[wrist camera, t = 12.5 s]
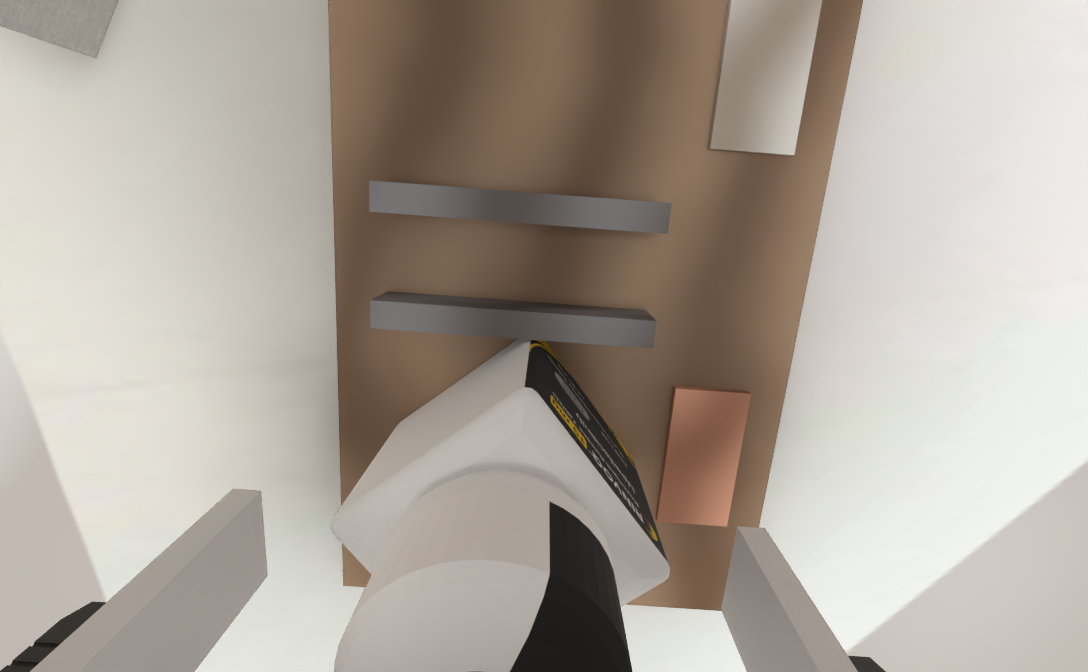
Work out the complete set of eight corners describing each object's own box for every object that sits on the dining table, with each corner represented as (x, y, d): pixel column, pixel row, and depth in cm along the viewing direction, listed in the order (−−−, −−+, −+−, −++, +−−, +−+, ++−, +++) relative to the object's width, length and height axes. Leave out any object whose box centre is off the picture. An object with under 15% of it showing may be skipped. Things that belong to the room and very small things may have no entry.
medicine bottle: (635, 460, 21) (740, 760, 10) (499, 546, 22) (447, 910, 11) (535, 324, 20) (517, 486, 8) (394, 423, 21) (207, 689, 9)
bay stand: (881, -173, 17) (951, -252, 14) (734, 595, 24) (759, 648, 21) (334, -219, 17) (290, -309, 14) (351, 570, 24) (324, 620, 21)
